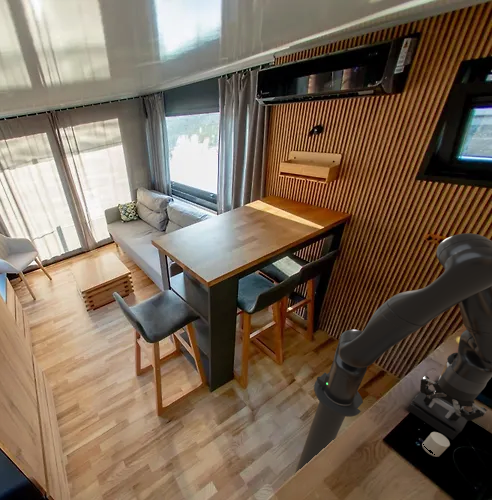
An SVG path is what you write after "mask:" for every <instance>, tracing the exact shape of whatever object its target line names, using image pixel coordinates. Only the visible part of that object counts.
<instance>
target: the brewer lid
mask: <svg viewBox="0 0 492 500" xmlns="http://www.w3.org/2000/svg"><path fill="white" fill-rule="evenodd" d="M428 390H429V391H433V390H432V389H430V388H428ZM425 398H426V395H425V394H424V393H421V392H420V391H419V392H418V394H417V395H415V397H414V398H413V400H412V401H411V403H412V402H413V403H415V404H416V405H418V406H419V407H421V408H422V409H424V410H426V411H427V412H429V413H430V414H432V415H433V416H435V417H437V418H438V419H440V420H441V421H443V422H445V423H446V424H448V425H449V426H451V427H452V428H454V429H456V430H457V431H459V433H461V432H462V431H463V430H464V428H465V426H466V424H467V423H468V422H469V421H468V420H466V419H465V418H464V417H460V418H459V419H458V420H457V421H455V420H450V419H449V418H450V417H451V415H452V414H453V413H454V412H455V410H454V406H453V405H452V404H451V403H449V402H448V401H446V400H444V399H442V398H433V399H432V401H431V402H430V403H429V405H426V404H425V402H424V399H425ZM464 411H465V412H469V411H468V410H467V409H464Z"/></svg>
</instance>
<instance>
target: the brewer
mask: <svg viewBox="0 0 492 500" xmlns="http://www.w3.org/2000/svg"><path fill="white" fill-rule="evenodd" d="M406 410H407V411H408V413H409V412H410V413H411V414H412V415H414V416H415V417H417V418H418V419H420V420H421V421H423V422H424V423H426V424H427V425H429V426H431V427H432V428H434V429H435V430H436V431H438V432H439V433H440V434H442V435H443V436H445V437H446V438H449V439H450V440H451V441H453V440H454V439H455V438H457V436H458V435H459V434H460V432H459V431H457V430H456V429H454V428H452V427H451V426H449V425H448V424H446V423H445V422H443V421H441V420H440V419H438V418H437V417H435V416H433V415H432V414H430V413H429V412H427V411H426V410H424V409H422V408H421V407H419V406H418V405H416V404H415V403H413V402H412V401H411V403H410V404H409V406H408V407H407V408H406Z"/></svg>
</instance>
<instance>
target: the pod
mask: <svg viewBox="0 0 492 500" xmlns="http://www.w3.org/2000/svg"><path fill="white" fill-rule="evenodd" d="M423 444H424V445H423ZM421 446H422V449H423V450H424V451H425V452H426V453H427V454H428V455H430V456H432V457H436V458H439V457H440V456H441V455H442V454H443V453H444V452H445V451H446V450H447V449H448V448H449V447H450V446H451V443H450V440H449V439H448V437H447V436H446V435H444V434H443V433H441V432H439V431H438V432H437V431H432V432H430V434H429V435H428V436H427V437H426V438H425V440H424V441H423V442H422V443H421ZM424 446H425V447H426V448H427V449H428V450H431V451H432V452H433V454H432V453H430V452H429V451H428V450H427V449H426V448H425V447H424ZM434 454H435V455H434Z"/></svg>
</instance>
